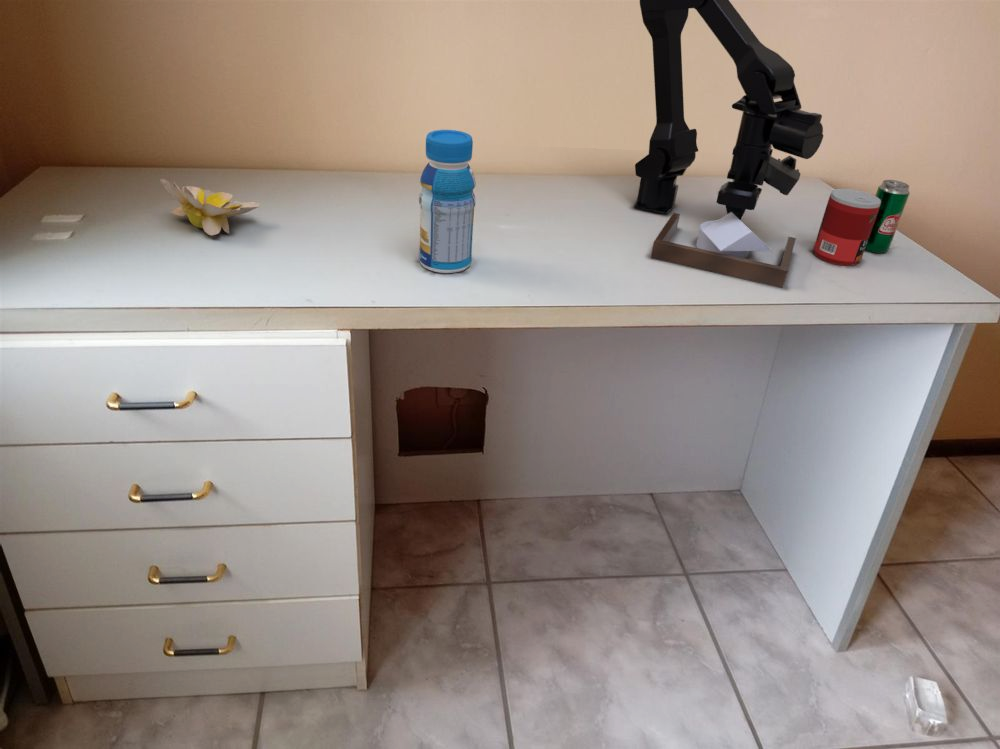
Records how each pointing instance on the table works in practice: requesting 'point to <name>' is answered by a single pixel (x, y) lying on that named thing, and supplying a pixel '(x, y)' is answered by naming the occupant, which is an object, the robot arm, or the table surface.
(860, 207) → the canned food
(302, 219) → the table surface
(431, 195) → the beverage bottle
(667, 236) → the bay
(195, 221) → the decorative flower
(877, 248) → the soda can
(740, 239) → the wedge on round base
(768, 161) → the robot arm
